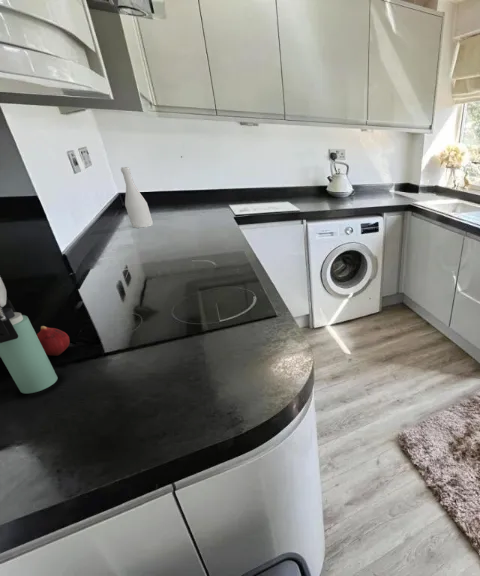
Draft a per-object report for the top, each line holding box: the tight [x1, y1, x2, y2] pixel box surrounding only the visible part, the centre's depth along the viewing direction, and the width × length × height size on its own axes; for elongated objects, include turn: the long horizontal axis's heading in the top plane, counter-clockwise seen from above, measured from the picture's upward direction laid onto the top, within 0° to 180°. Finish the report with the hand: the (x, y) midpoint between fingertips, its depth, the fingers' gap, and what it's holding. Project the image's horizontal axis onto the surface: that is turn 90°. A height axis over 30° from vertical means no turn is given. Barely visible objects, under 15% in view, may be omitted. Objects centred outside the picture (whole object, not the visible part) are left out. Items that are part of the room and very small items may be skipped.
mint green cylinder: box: [0, 308, 58, 394], centre depth 64 cm, size 17×6×6 cm
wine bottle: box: [120, 166, 154, 229], centre depth 169 cm, size 10×10×30 cm
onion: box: [36, 325, 71, 357], centre depth 74 cm, size 6×6×8 cm
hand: (6, 329), depth 62 cm, fingers open, 9 cm apart
